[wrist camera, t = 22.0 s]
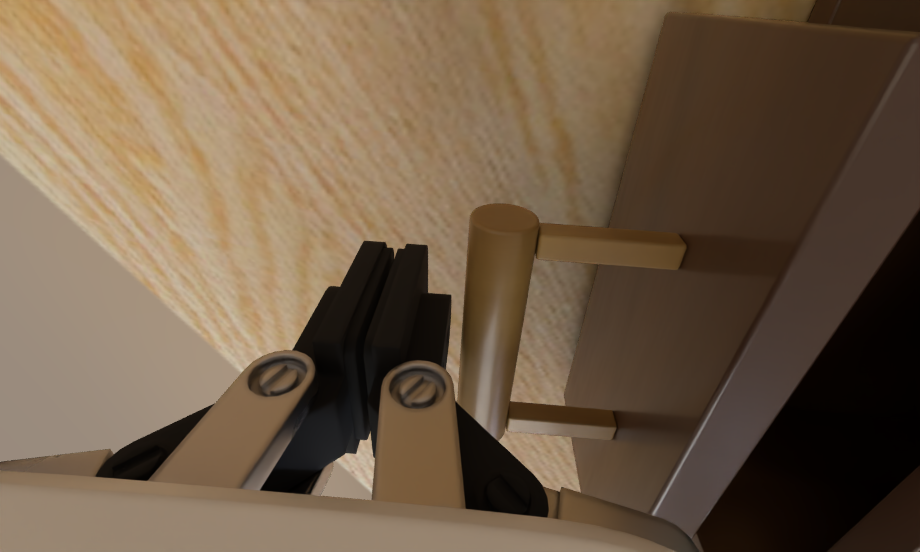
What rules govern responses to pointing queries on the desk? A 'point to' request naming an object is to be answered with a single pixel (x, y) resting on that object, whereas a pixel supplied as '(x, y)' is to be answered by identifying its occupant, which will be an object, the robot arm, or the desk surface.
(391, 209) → the desk surface
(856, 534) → the cabinet
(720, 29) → the drawer
